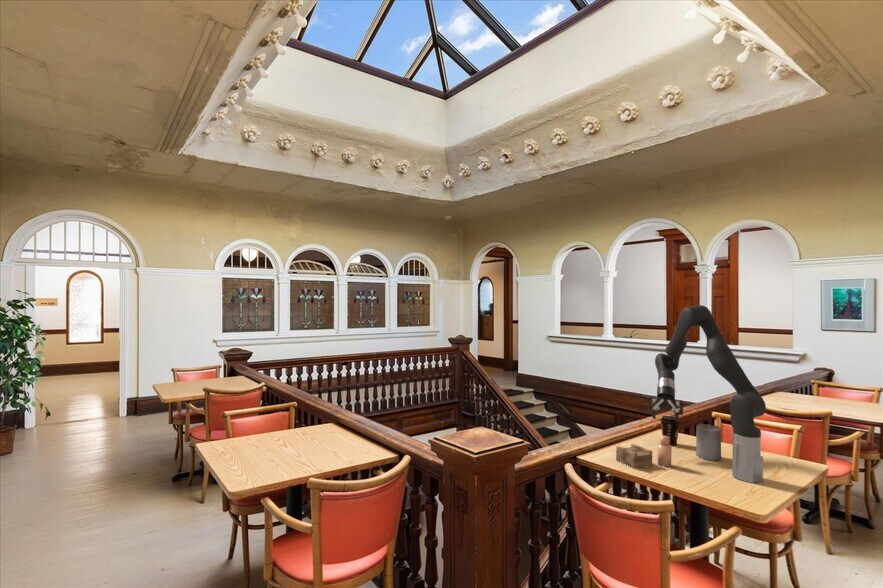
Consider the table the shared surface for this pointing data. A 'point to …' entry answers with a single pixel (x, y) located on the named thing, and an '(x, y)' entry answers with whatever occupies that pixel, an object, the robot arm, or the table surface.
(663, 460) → the peg doll
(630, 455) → the pedestal
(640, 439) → the table surface
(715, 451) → the pillar candle
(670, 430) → the coffee cup
